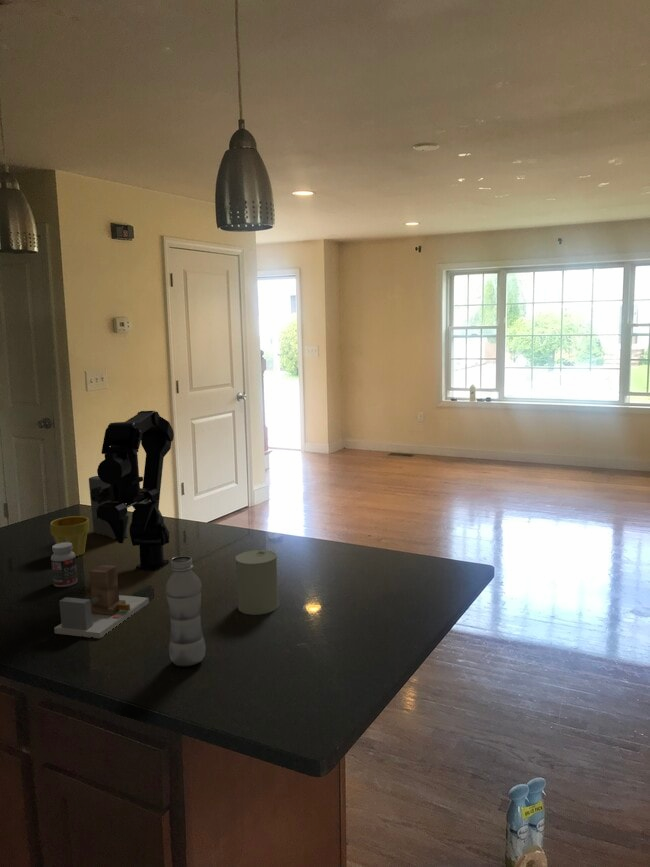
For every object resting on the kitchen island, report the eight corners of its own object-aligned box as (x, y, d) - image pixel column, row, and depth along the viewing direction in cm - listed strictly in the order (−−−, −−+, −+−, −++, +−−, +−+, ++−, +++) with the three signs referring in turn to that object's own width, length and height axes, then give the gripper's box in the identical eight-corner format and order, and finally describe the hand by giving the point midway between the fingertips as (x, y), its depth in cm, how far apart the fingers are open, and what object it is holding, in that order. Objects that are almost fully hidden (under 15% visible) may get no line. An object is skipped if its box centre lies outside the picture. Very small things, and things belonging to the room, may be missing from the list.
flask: (133, 536, 207) (128, 472, 204) (117, 541, 203) (111, 475, 200) (107, 528, 217) (101, 466, 214) (90, 532, 212) (84, 470, 209)
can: (285, 600, 154) (283, 549, 152) (269, 616, 145) (266, 563, 143) (248, 596, 157) (245, 546, 155) (230, 612, 148) (227, 559, 146)
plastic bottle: (172, 655, 129) (164, 554, 126) (208, 652, 130) (201, 552, 127) (167, 672, 123) (159, 566, 120) (205, 669, 123) (198, 564, 120)
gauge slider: (100, 603, 152) (97, 563, 150) (135, 606, 149) (132, 566, 148) (81, 615, 145) (77, 574, 144) (117, 619, 143) (113, 577, 141)
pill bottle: (69, 588, 166) (65, 549, 164) (48, 587, 167) (44, 548, 165) (82, 579, 171) (78, 541, 170) (62, 578, 172) (58, 541, 171)
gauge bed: (107, 598, 158) (104, 570, 157) (149, 602, 155) (146, 573, 154) (54, 633, 141) (51, 601, 140) (100, 638, 137) (97, 605, 136)
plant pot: (99, 551, 193) (96, 518, 192) (68, 562, 185) (65, 527, 183) (76, 546, 199) (73, 514, 197) (45, 557, 190) (41, 523, 189)
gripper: (119, 465, 174) (124, 524, 176) (73, 482, 156) (79, 547, 158) (158, 466, 170) (162, 527, 173) (115, 483, 153) (120, 550, 155)
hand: (131, 537), depth 165 cm, fingers open, 9 cm apart
